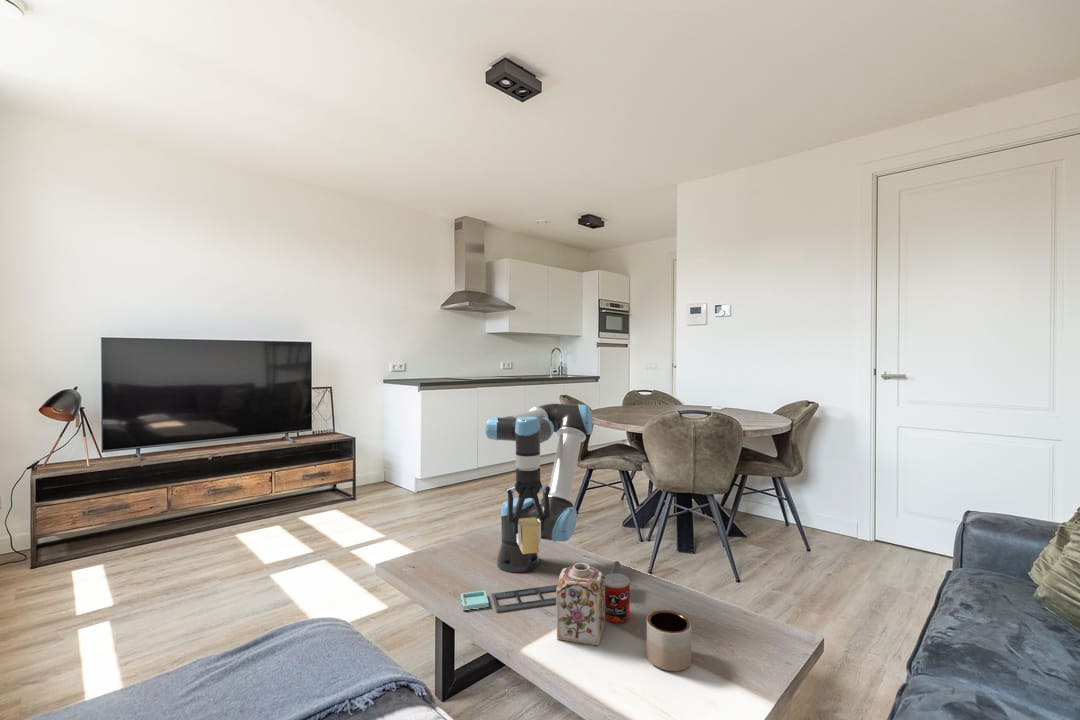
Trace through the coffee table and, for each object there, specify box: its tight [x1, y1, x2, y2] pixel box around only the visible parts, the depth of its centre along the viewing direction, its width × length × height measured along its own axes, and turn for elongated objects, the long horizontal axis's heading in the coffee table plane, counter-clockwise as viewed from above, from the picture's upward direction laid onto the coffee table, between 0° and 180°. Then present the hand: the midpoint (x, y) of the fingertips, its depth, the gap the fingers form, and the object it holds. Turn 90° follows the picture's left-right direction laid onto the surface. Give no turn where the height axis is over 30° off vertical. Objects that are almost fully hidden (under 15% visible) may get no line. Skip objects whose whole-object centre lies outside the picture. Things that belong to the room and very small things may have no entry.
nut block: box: [519, 517, 540, 554], centre depth 150 cm, size 6×6×9 cm
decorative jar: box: [555, 562, 606, 646], centre depth 133 cm, size 12×12×18 cm
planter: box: [645, 609, 693, 672], centre depth 121 cm, size 11×11×10 cm
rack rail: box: [490, 584, 557, 613], centre depth 150 cm, size 22×9×1 cm, turn 105°
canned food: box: [604, 573, 630, 625], centre depth 140 cm, size 8×8×11 cm
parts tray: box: [460, 590, 490, 610], centre depth 148 cm, size 8×8×2 cm
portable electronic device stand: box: [608, 560, 621, 574], centre depth 154 cm, size 9×8×8 cm
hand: (528, 542), depth 150 cm, fingers closed on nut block, 6 cm apart
